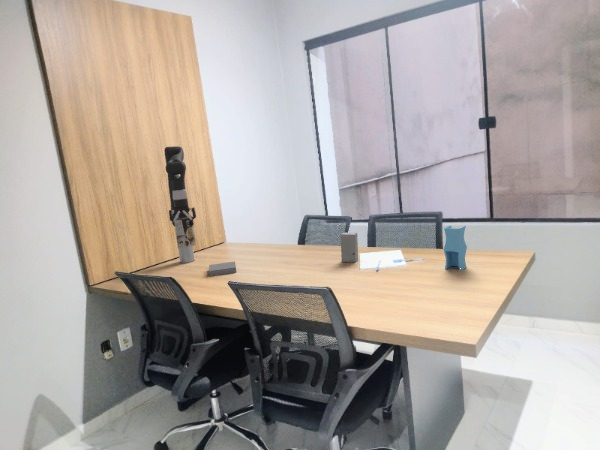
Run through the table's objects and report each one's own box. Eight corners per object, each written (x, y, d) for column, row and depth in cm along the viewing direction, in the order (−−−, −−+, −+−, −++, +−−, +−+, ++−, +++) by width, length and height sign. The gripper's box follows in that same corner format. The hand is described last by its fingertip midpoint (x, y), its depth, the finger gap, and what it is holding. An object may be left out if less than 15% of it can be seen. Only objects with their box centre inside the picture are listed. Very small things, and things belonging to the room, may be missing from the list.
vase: (467, 266, 200) (465, 225, 197) (460, 270, 194) (459, 228, 191) (451, 265, 205) (449, 225, 202) (444, 269, 200) (442, 228, 196)
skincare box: (341, 262, 231) (339, 234, 229) (345, 259, 238) (342, 232, 235) (356, 262, 228) (354, 234, 225) (359, 259, 234) (357, 231, 232)
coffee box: (187, 248, 227) (183, 219, 225) (177, 248, 230) (173, 219, 227) (196, 244, 236) (192, 216, 233) (186, 244, 238) (182, 217, 236)
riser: (210, 269, 244) (209, 264, 244) (235, 266, 247) (234, 261, 246) (209, 276, 230) (208, 271, 229) (236, 272, 232) (235, 267, 232)
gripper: (194, 196, 233) (198, 224, 235) (168, 198, 232) (173, 227, 234) (192, 197, 225) (196, 226, 228) (165, 200, 224) (169, 229, 227)
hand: (184, 227), depth 231 cm, fingers closed on coffee box, 8 cm apart
